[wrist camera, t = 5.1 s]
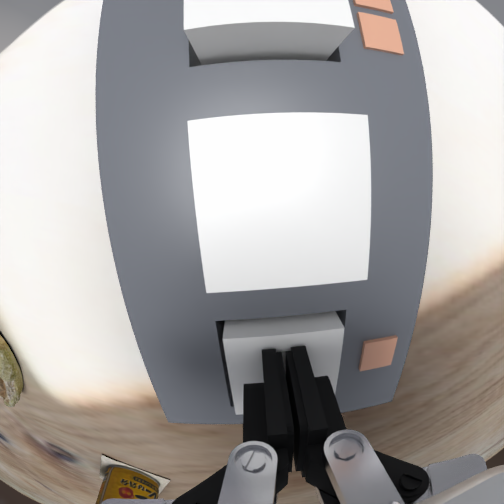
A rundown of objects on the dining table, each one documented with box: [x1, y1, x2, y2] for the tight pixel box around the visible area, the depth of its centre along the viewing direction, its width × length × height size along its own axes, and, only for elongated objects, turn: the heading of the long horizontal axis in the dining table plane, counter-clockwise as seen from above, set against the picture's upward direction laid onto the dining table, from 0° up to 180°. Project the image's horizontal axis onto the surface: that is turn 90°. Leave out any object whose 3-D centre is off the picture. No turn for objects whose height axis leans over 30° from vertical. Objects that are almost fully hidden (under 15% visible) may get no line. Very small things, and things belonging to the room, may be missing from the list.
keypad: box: [96, 0, 433, 424], centre depth 10 cm, size 12×22×3 cm, turn 4°
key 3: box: [223, 311, 344, 415], centre depth 12 cm, size 4×4×4 cm
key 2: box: [187, 112, 371, 293], centre depth 8 cm, size 4×4×4 cm
